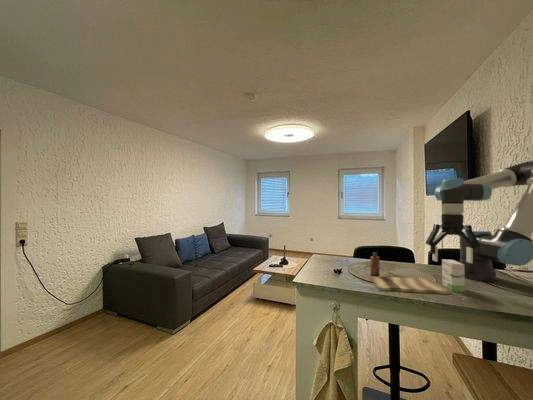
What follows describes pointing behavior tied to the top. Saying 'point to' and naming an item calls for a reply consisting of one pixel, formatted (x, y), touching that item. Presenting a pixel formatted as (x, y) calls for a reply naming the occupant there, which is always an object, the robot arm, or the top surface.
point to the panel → (408, 285)
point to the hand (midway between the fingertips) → (452, 261)
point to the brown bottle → (375, 265)
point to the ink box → (453, 275)
